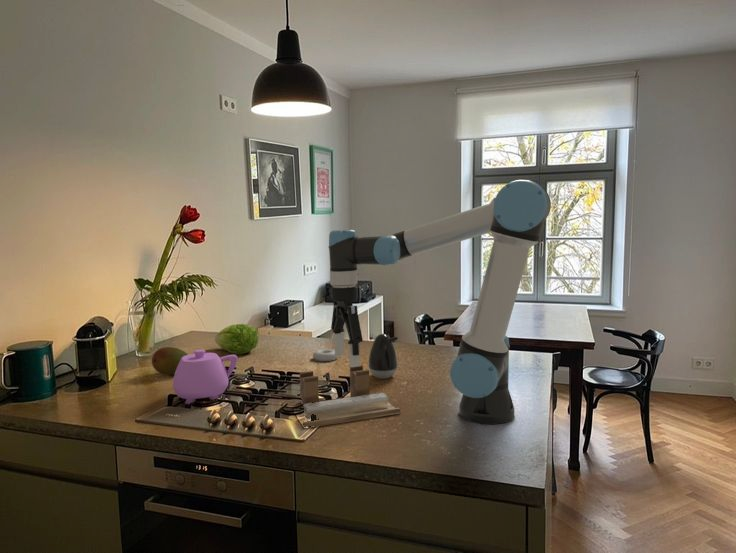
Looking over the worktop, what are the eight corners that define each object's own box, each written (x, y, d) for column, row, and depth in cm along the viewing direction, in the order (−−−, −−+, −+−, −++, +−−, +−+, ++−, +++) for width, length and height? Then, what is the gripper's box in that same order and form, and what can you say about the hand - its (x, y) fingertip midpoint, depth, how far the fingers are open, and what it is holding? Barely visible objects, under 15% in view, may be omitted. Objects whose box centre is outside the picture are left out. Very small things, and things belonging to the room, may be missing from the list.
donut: (334, 355, 215) (310, 357, 211) (334, 347, 214) (310, 349, 211) (341, 361, 205) (316, 363, 202) (341, 352, 205) (316, 354, 201)
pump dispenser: (396, 381, 178) (395, 337, 176) (365, 380, 180) (365, 336, 178) (400, 373, 188) (400, 331, 186) (371, 371, 190) (371, 330, 188)
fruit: (148, 374, 190) (146, 347, 189) (181, 366, 199) (180, 341, 198) (162, 380, 182) (160, 352, 181) (196, 372, 191) (194, 346, 190)
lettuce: (232, 331, 235) (209, 319, 225) (267, 330, 222) (244, 318, 213) (223, 358, 230) (199, 347, 220) (258, 359, 217) (234, 348, 207)
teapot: (234, 381, 180) (232, 338, 178) (242, 400, 162) (240, 352, 160) (173, 389, 173) (170, 344, 171) (174, 409, 155) (171, 359, 153)
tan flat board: (400, 413, 149) (400, 408, 149) (303, 428, 139) (303, 423, 139) (383, 399, 160) (383, 395, 160) (293, 413, 150) (293, 408, 150)
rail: (387, 408, 152) (387, 396, 152) (307, 420, 144) (306, 408, 143) (383, 404, 155) (383, 392, 155) (303, 415, 147) (303, 403, 146)
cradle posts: (369, 399, 160) (369, 370, 159) (305, 409, 153) (304, 378, 152) (362, 393, 166) (361, 365, 165) (300, 402, 159) (299, 372, 158)
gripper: (373, 289, 135) (375, 370, 137) (343, 280, 158) (345, 349, 161) (345, 291, 132) (348, 373, 135) (318, 282, 156) (321, 352, 158)
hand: (346, 360), depth 148 cm, fingers open, 13 cm apart
